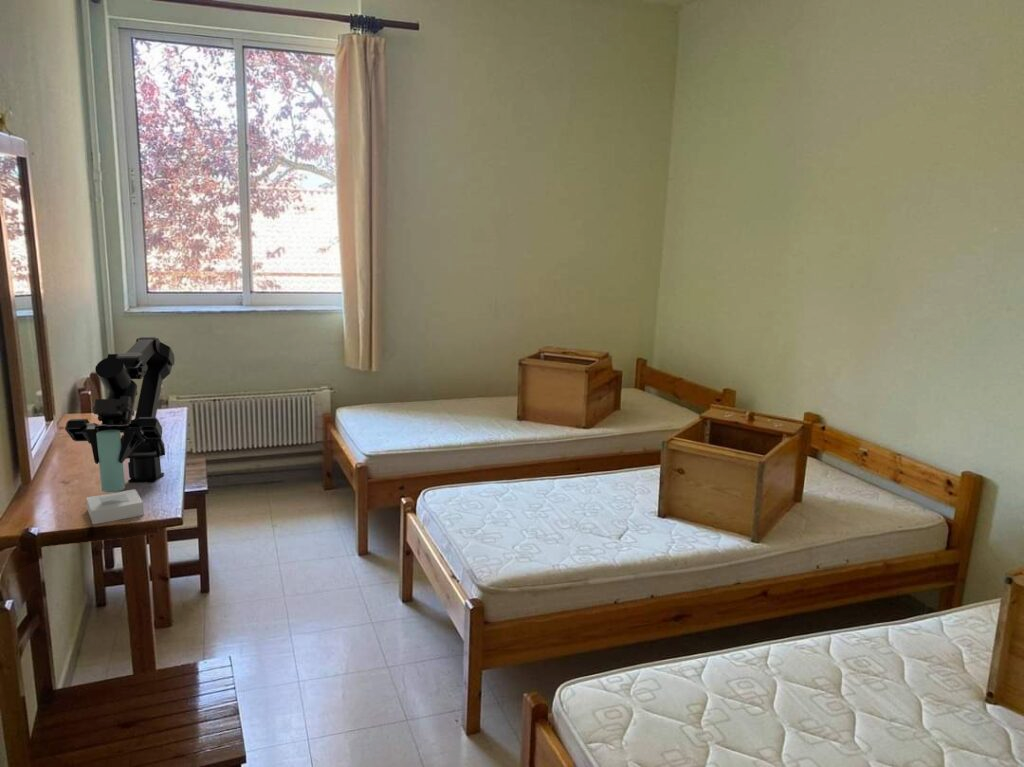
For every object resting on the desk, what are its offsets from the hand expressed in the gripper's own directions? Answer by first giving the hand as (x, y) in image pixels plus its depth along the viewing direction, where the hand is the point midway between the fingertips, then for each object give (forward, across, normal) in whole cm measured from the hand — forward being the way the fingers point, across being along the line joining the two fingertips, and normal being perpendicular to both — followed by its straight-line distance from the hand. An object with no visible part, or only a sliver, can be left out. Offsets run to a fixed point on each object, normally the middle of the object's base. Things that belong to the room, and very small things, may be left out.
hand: (108, 462), depth 161 cm
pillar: (+4, 0, +6) cm, 7 cm away
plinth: (+8, 0, +10) cm, 12 cm away
